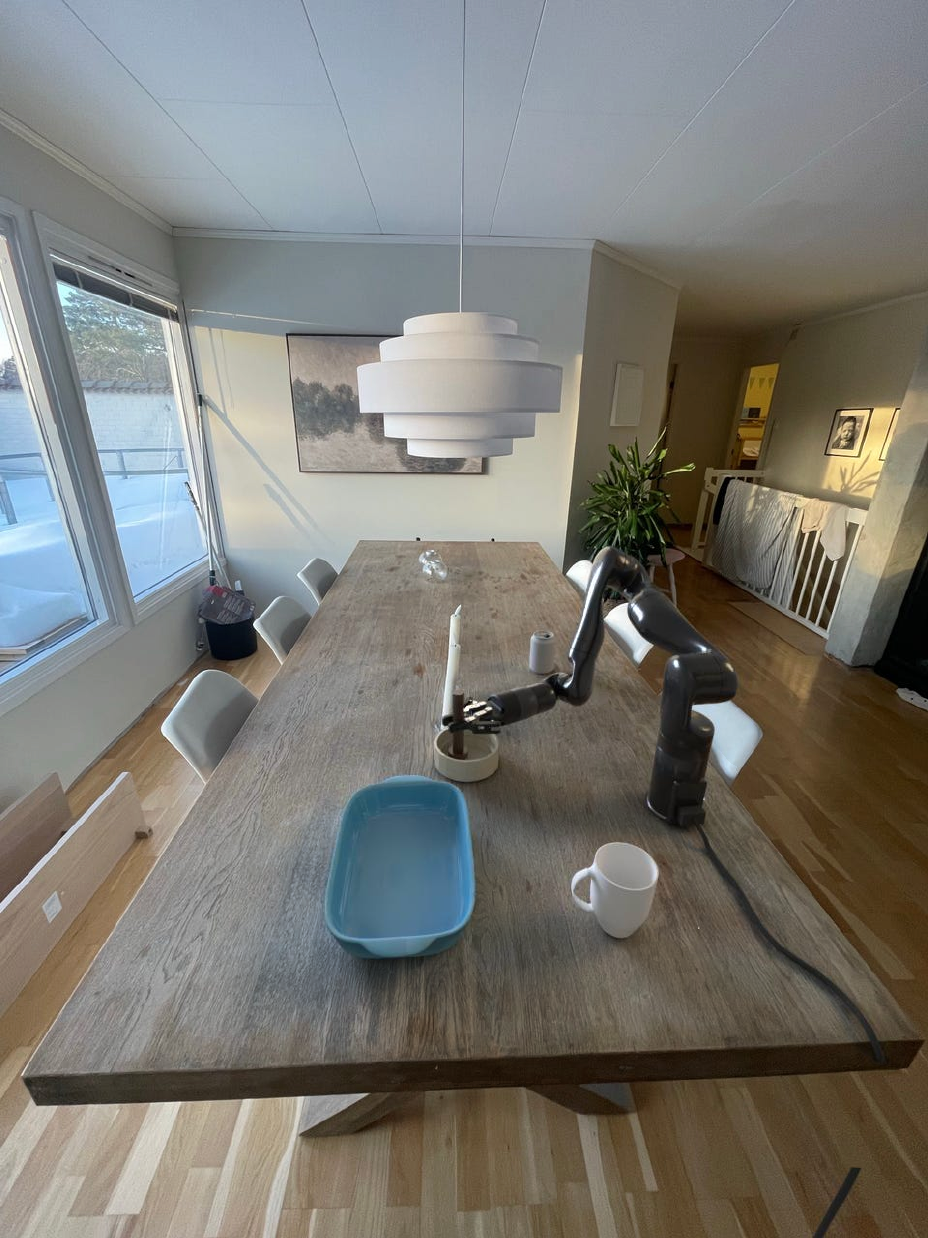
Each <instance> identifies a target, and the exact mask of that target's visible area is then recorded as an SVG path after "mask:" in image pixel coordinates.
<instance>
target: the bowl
mask: <svg viewBox="0 0 928 1238" xmlns="http://www.w3.org/2000/svg"><path fill="white" fill-rule="evenodd" d="M483 728H484V727H482V728H480V729H483ZM452 745H453V733H450V732H449V731H448V726H446V728H444V729H441V730H440V731H439V732H438V733H437V734H436V736H435V739H434V740H433V762H434V767H435V769H436V770H437V772H438V773H439V774H441V775H442V776H443V777H445V778H447V779H450V780H453V781H456V782H465V783H470V782H471V783H472V782H478V781H481V780H484V779H487V778H489V777H490V776H491V775H493V774H494V773H495V771H496V770H497V769H498V767H499V762H500V761H499V760H500V741H499V738H498V736H497V734H473V733H472V731H471V730H470V731H467V730H464V746H466V747H467V748H468V757H467V759H465V760H457V759H454V758H450V757H448V749H449V747H450V746H452Z"/></svg>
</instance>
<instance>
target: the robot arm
mask: <svg viewBox="0 0 928 1238" xmlns="http://www.w3.org/2000/svg"><path fill="white" fill-rule="evenodd" d="M606 587H608V588H609V589H612V590H613V591H616V592H618V593H619V594H621V595H622V596H623V597H624V598H625V599H626V600H627V602H628V603H627V608H626V613H627V617H628V619H629V621H630V623H631V625H632V626H633V627H634V629H635V630H636V631H637V633H638V634H639V636H640V637H641V638H642V639H643V640H645V641H646V642H647V643H649V644H651V645H652V646H654V647H656V648H658V649H660V650H662V651H664V652H666V653H668V654H670V655H671V656H670V657H669V658H668V660H667V661H666V664H665V667H664V671H663V678H662V688H661V697H660V707H659V715H660V723H659V730H658V735H657V740H656V746H655V753H654V759H653V765H652V770H651V776H650V782H649V788H648V794H647V797H646V805H647V808H648V810H649V811H650V812H651V813H652V814H653V815H654V816H656V817H658V818H659V819H660V820H663V821H664V822H666V823H667V824H668V826H675V825H680V827H681V828H683V827H684V828H685V827H692V826H695V828H696V831H697V832H698V833H699V834H700V837H701V840H702V842H703V844H704V848H705V849H706V852H707V853H708V855H709V856H710V858H711V859H712V861H713V863H714V864H715V865H716V867H717V868H718V869H719V870H720V872H721V873H722V874H723V875H724V876H725V878H726V879H727V881H728V882H729V884H731V885H732V887H733V888H734V890H735V891H736V893H737V894H738V896H739V897H740V899H741V901H742V903H743V904H744V907H745V908H746V910H747V912H748V915H749V917H750V918H751V919H752V922H753V923H754V924H755V926H756V927H757V929H758V930H759V931H760V933H761V934H762V935H763V937H764V938H765V939H766V940H767V941H768V942H769V943H770V944H771V945H772V946H773V947H774V948H775V949H776V950H778V952H780V953H781V954H782V955H783V956H785V957H786V958H788V959H789V960H790V961H792V962H793V963H795V964H796V965H798V966H800V967H801V968H803V969H804V970H806V971H807V972H808V973H810V974H811V975H813V976H814V977H815V978H817V979H818V980H820V981H821V982H822V983H823V984H825V986H827V987H828V988H829V989H830V990H832V992H833V993H834V994H835V995H837V997H838V998H839V999H840V1000H841V1001H842V1002H843V1003H844V1004H845V1005H846V1006H847V1008H848V1009H850V1011H851V1012H852V1013H853V1014H854V1016H855V1017H856V1018H857V1019H858V1021H859V1022H860V1024H861V1026H862V1027H863V1029H864V1032H865V1034H866V1035H867V1037H868V1040H869V1041H870V1044H871V1047H872V1049H873V1052H874V1053H875V1054H874V1055H875V1057H876V1059H877V1061H878V1062H880V1063H882V1064H885V1063H886V1059H885V1058H886V1057H885V1055H884V1052H883V1049H882V1047H881V1044H880V1041H879V1039H878V1037H877V1035H876V1033H875V1031H874V1029H873V1027H872V1026H871V1024H870V1023H869V1021H868V1020H867V1018H866V1016H865V1015H864V1014H863V1012H862V1011H861V1009H859V1008H858V1007H857V1005H856V1004H855V1003H854V1002H853V1001H852V1000H851V999H850V998H849V997H848V996H847V995H846V993H844V991H843V990H841V988H840V987H838V985H837V984H836V983H834V982H833V981H832V980H831V979H830V978H829V977H827V975H825V974H824V973H822V972H821V971H819V970H818V969H817V968H815V967H813V966H812V965H810V964H809V963H808V962H806V961H804V960H803V959H801V958H800V957H799V956H797V955H795V954H794V953H792V952H791V951H790V950H788V949H787V948H785V947H784V946H783V945H782V944H781V943H779V942H778V941H777V940H776V938H774V936H772V934H771V933H770V932H769V931H768V930H767V929H766V927H765V926H764V924H762V922H761V921H760V919H759V917H758V916H757V914H756V912H755V910H754V908H753V907H752V905H751V903H750V901H749V899H748V897H747V896H746V894H745V892H744V891H743V889H742V888H741V886H740V885H739V883H738V882H737V881H736V879H734V876H733V875H731V874H730V872H729V871H728V870H727V869H726V868H725V866H724V865H723V863H721V861H720V860H719V858H718V857H717V856H716V854H715V852H714V851H713V849H712V846H711V845H710V841H709V839H708V836H707V835H706V832H705V831H704V829H703V827H702V826H701V825H704V824H705V819H706V815H707V811H706V810H705V809H704V808H703V804H704V801H705V795H706V790H707V786H708V781H707V780H706V774H707V769H708V764H709V760H710V755H711V752H712V751H711V750H712V746H713V741H714V737H715V732H716V731H715V730H716V729H715V725H714V723H713V721H712V720H711V719H710V718H709V717H708V716H706V715H705V714H702V713H701V712H699V711H697V710H693V707H694V706H704V705H718V704H724V703H727V702H730V701H733V699H734V698H735V697H736V696H737V693H738V691H739V678H738V674H737V671H736V669H735V667H734V665H733V664H732V662H731V660H730V659H729V658H728V657H727V656H726V655H725V654H724V653H723V652H722V651H721V650H720V649H719V648H718V647H716V646H715V645H714V644H713V643H711V641H709V640H708V639H707V638H706V637H705V636H704V635H703V634H701V632H699V631H698V630H697V629H696V628H695V627H694V626H693V624H691V622H690V621H689V620H688V619H687V618H686V617H685V616H684V615H683V614H682V613H681V611H680V610H679V609H678V607H677V606H676V605H675V604H674V603H673V601H672V600H671V598H669V596H667V595H666V594H665V593H664V592H663V591H662V590H661V588H660V587H658V585H656V584H655V583H654V582H653V580H652V579H651V577H650V576H649V574H648V572H647V571H646V568H645V567H644V565H643V564H642V563H641V561H640V560H638V559H637V558H636V557H634V556H632V555H630V554H628V553H627V552H625V551H623V550H621V549H619V548H618V547H614V546H611V545H609V546H606V547H604V548H602V549H601V550H600V551H598V553H597V554H596V556H595V557H594V559H593V562H592V564H591V568H590V572H589V576H588V579H587V584H586V587H585V588H586V589H585V594H584V598H583V603H582V608H581V609H582V610H581V613H580V617H579V620H578V624H577V627H576V630H575V632H574V635H573V638H572V641H571V644H570V646H569V649H568V651H567V655H566V659H567V661H568V662H569V663H571V665H573V667H572V668H573V669H572V673H570V672H568V671H567V672H566V671H558V672H554V673H553V674H550V675H548V676H547V677H545V678H543V679H542V680H540V681H539V682H534V683H531V684H527V685H524V686H516V687H513V688H509V689H505V690H501V691H498V692H494V693H492V694H491V695H490V696H489V697H488V698H487V699H485V700H477V701H476V700H474V697H473V696H472V695H470V696H469V695H468V696H467V697H465V698H464V719H462V720H459V721H455V722H453V712H452V713H449V714H445V715H443V716H442V717H441V725H442V726H443V727H448V731H449V732H450V733H456V732H460V731H463V730H467V731H470V730H471V731H472V733H473V734H495V735H499V734H500V733H501V727H506V726H508V725H512V724H514V723H515V724H516V723H518V722H520V721H524V720H527V719H530V718H532V717H534V716H536V715H540V714H544V713H545V712H549V711H551V710H552V709H554V707H556V705H557V701H561V702H563V703H565V704H568V705H570V706H572V707H582V706H583V705H585V704H586V703H587V702H588V701H589V700H590V698H591V696H592V694H593V689H594V681H595V671H596V664H597V660H598V657H599V655H600V652H601V649H602V646H603V644H604V641H605V635H606V629H605V627H606V626H605V619H604V618H605V617H604V609H603V607H604V605H603V603H604V602H603V600H604V595H605V594H604V593H605V591H606ZM482 727H484V728H483V729H480V728H482ZM861 1170H862V1167H857V1166H856V1167H853V1166H850V1169H849V1171H848V1172H847V1175H846V1176H845V1178H844V1180H843V1182H842V1184H841V1185H840V1187H839V1189H838V1191H837V1193H836V1194H835V1197H834V1198H833V1200H832V1202H831V1204H830V1205H829V1207H828V1209H827V1210H826V1212H825V1214H824V1216H823V1218H822V1220H821V1221H820V1223H819V1225H818V1227H817V1229H816V1231H815V1232H814V1234H813V1237H812V1238H824V1237H825V1235H826V1233H827V1231H828V1230H829V1228H830V1227H831V1225H832V1223H833V1221H834V1219H835V1218H836V1216H837V1215H838V1212H839V1210H840V1209H841V1207H842V1205H843V1204H844V1203H845V1200H846V1199H847V1197H848V1196H849V1194H850V1191H851V1190H852V1188H853V1186H854V1184H855V1182H856V1181H857V1178H858V1177H859V1175H860V1173H861Z"/></svg>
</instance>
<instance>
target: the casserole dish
mask: <svg viewBox="0 0 928 1238" xmlns="http://www.w3.org/2000/svg"><path fill="white" fill-rule="evenodd" d="M472 842H473V841H472V831H471V822H470V814H469V808H468V803H467V799H466V797H465V795H464V793H463V792H462V790H461V789H460V788H459V787H458V786H456V785H454V784H452V783H450V782H446V781H440V780H434V779H431V778H429V777H426V776H424V775H417V774H407V775H396V776H391V777H389V778H386V779H384V780H383V781H381V782H377V783H373V784H368V785H366V786H364V787H362V788H360V789H358V790H357V791H355V792H354V793H353V794H352V795H351V796H350V798H349V799H348V801H347V802H346V804H345V807H344V808H343V811H342V815H341V818H340V820H339V825H338V830H337V834H336V839H335V844H334V849H333V854H332V858H331V862H330V863H331V864H330V868H329V874H328V879H327V883H326V889H325V896H324V906H323V909H324V911H323V912H324V919H325V924H326V927H327V929H328V931H329V932H330V934H331V935H332V936H333V938H334V939H335V940H336V942H337V943H338V945H339V946H340V947H341V948H342V949H343V950H344V951H345V952H346V953H347V954H349V955H350V956H353V957H356V958H360V959H398V958H399V959H400V958H416V957H417V958H418V957H425V956H431V955H436V954H439V953H442V952H445V951H447V950H449V949H450V948H452V946H454V945H455V944H456V943H457V942H458V941H459V940H460V938H461V937H462V936H463V934H464V933H465V930H466V928H467V925H468V923H469V921H470V919H471V917H472V915H473V912H474V907H475V903H476V875H475V871H476V870H475V862H474V852H473V851H474V850H473V843H472Z"/></svg>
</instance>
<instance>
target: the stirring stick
mask: <svg viewBox="0 0 928 1238" xmlns="http://www.w3.org/2000/svg"><path fill="white" fill-rule="evenodd" d="M451 693H452V695H451V697H452V699H451V701H452V713H453V722H455V721H459V720H462V719H464V716H465V714H464V700H465V692H464V690H462V689H455V690H453V691H452V692H451ZM448 757H450V758H454V759H457V760H465V759H467V757H468V748H467V747H466V746H464V730H463V731H460V732H456V733H453V745H452V746H450V747H449V749H448Z"/></svg>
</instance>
